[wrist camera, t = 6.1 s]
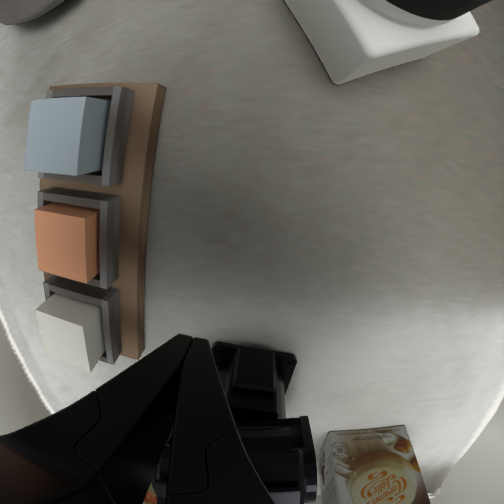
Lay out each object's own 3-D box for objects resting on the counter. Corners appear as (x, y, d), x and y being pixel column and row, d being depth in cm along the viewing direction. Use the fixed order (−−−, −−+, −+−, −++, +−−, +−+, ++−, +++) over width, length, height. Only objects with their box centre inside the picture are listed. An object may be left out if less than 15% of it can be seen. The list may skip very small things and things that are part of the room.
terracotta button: (108, 264, 19) (86, 283, 16) (62, 253, 19) (38, 269, 16) (109, 206, 18) (85, 218, 15) (61, 199, 18) (34, 209, 15)
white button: (107, 347, 20) (90, 372, 18) (65, 333, 20) (46, 355, 17) (103, 303, 19) (82, 326, 16) (58, 290, 19) (35, 309, 16)
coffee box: (407, 422, 26) (447, 545, 11) (387, 453, 28) (414, 562, 13) (327, 430, 26) (345, 574, 11) (315, 460, 28) (324, 582, 13)
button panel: (144, 348, 23) (130, 374, 20) (61, 323, 23) (42, 343, 20) (165, 87, 16) (146, 78, 13) (61, 88, 16) (33, 84, 13)
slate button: (104, 169, 16) (76, 175, 13) (54, 164, 16) (24, 170, 13) (113, 101, 14) (86, 96, 12) (61, 102, 14) (31, 100, 12)
